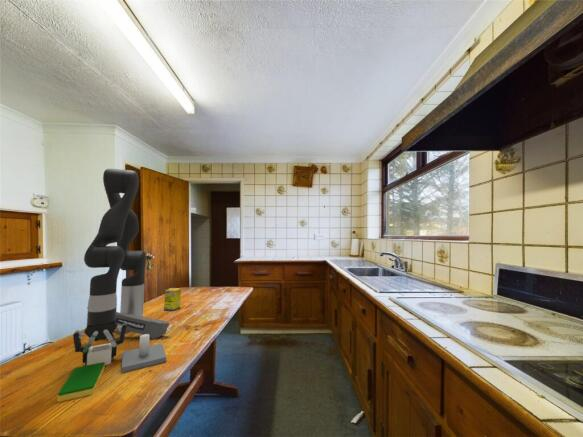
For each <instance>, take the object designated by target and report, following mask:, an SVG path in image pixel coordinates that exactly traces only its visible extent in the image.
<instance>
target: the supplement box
mask: <svg viewBox="0 0 583 437" xmlns="http://www.w3.org/2000/svg"><path fill="white" fill-rule="evenodd" d="M181 292H182V288H177V287H170V288H168V289H165V290H164V299H163V300H164V301H163V302H164V303H163V304H164V305H163V311H168V312H169V311H170V312H175V311H177V310H179V309H180V308H181Z"/></svg>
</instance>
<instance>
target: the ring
mask: <svg viewBox="0 0 583 437" xmlns="http://www.w3.org/2000/svg"><path fill="white" fill-rule="evenodd" d="M111 353H112V345H111V343H110V342H109V343H103V344H98V345H94V346H93V345H91V346H90V348H89V351H88V354H87V364H86V366H87V365H92V364H97V363H102V362H105V364H104V365H105V366H107V365H111V364H112V359H111Z"/></svg>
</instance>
